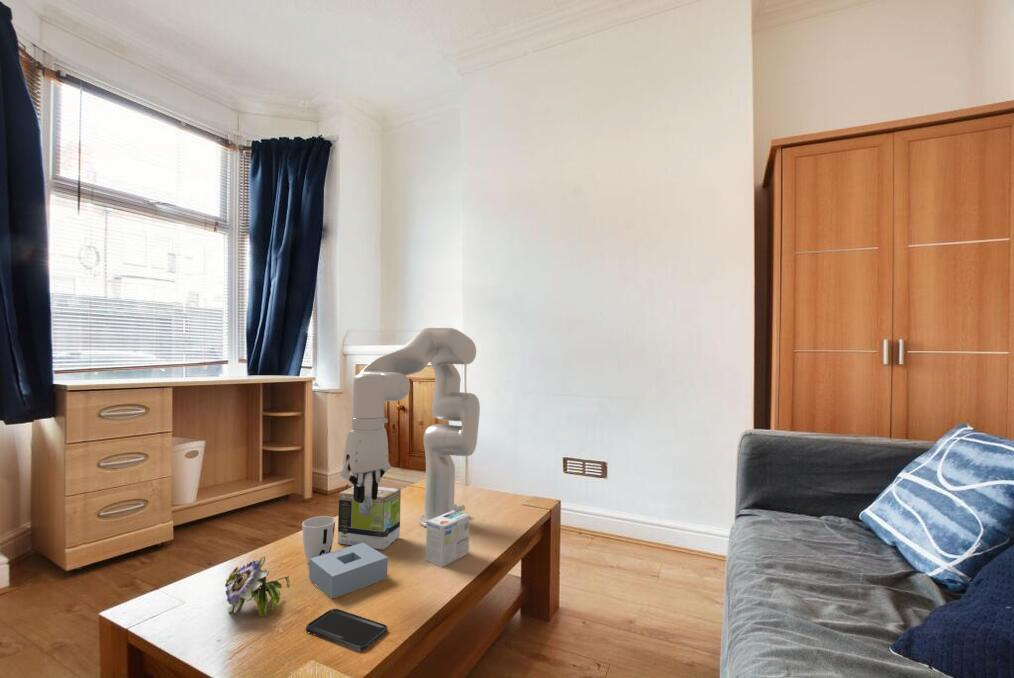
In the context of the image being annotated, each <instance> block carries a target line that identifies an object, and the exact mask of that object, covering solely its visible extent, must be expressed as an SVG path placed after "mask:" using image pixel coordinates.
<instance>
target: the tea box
mask: <svg viewBox="0 0 1014 678" xmlns="http://www.w3.org/2000/svg"><path fill="white" fill-rule="evenodd" d="M401 491H402V490H401V488H400V487H399V488H398V487H388V486H379V485H378V494H377V499H376V500H373V499H372V513H371V514H369V515H360V514H359V503H358V502H356V501H355V500H354V497H353V493H354V486H352V487H349V488H347V489H345V490H342V491H340V492H339V493H338V515H337V518H338V519H337V520H338V521H337V544H339V545H340V544H341V545H347V546H348V545H349V546H353V545H356V544H360V543H365V544H367V545H368V546H370V547H372V548H373V549H375V550H382V551H383V550H385V549H386V548H388V547H389V546H390V545H392V544H393V543H394V542H396V541H397V540H398V539H400V535H401V534H400V533H401V531H400V530H401V498H402V497H401V496H402V495H401V493H402V492H401ZM396 539H397V540H396ZM395 540H396V541H395ZM392 542H393V543H392ZM391 543H392V544H391Z"/></svg>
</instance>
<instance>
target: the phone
mask: <svg viewBox="0 0 1014 678" xmlns="http://www.w3.org/2000/svg"><path fill="white" fill-rule="evenodd" d="M305 628H306V629H305V631H307V632H306V633H308V632H310V633H312V634H311V635H313V634H315V635H314V636H316V635H317V636H316V637H318V636H319V638H321V637H322V638H321V639H324V640H326V639H327V641H329V642H332V643H335V644H336V645H341V646H342V647H345V648H348V649H350V650H353V651H356V652H360V653H361V652H365V651H367V650H368V649H370V648H371V647H372V646H373V645H374V644H376V642H378V641H379V640H380V639H381V638H382V637H384V636H385V635H386V634H387V633H388V625H387V624H383V623H382V622H381V623H380V622H378V621H375V620H372V619H369V618H366V617H363V616H360V615H357V614H353V613H351V612H347V611H345V610H342V609H338V608H331V609H329V610H327V611H325V612H324V613H323V614H321V615H320V616H318V617H317V618H315V619H313V620H312V621H310V622H309V623H307V624H306V627H305ZM310 633H309V634H310Z"/></svg>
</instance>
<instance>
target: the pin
mask: <svg viewBox="0 0 1014 678" xmlns="http://www.w3.org/2000/svg"><path fill="white" fill-rule="evenodd" d="M362 486H364V502H363V503H359V514H360V515H369V514H371V513H372V493H373V471H371V472H366V473H363V480H362Z"/></svg>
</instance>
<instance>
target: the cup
mask: <svg viewBox="0 0 1014 678" xmlns="http://www.w3.org/2000/svg"><path fill="white" fill-rule="evenodd" d="M301 526H302V527H301V528H302V530H301V531H302V544H303V550H304V555H305V558H306V561H308V562H309V563H308V562H307V563H308V564H310V559H311V558H314V557H317V556H320V555H324V554H327V553H330V552H332V547H333V543H334V537H335V529H336V518H335V517H333V516H327V515H321V516H320V515H319V516H314V517H310V518H308V519H305V520H304V521H303V522H302V524H301Z"/></svg>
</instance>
